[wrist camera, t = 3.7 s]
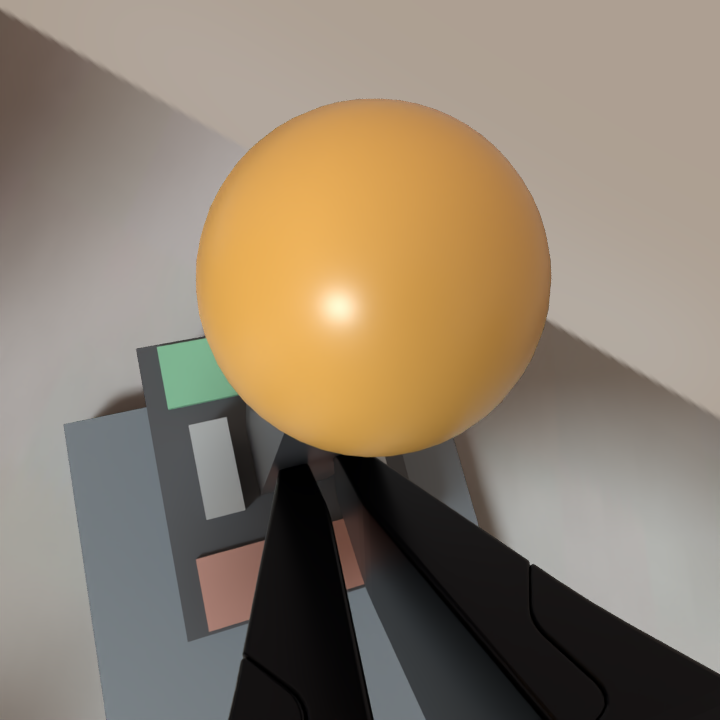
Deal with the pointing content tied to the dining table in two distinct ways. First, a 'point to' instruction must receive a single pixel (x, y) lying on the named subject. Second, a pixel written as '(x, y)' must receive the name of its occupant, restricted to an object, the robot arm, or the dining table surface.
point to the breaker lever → (370, 283)
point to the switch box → (202, 543)
